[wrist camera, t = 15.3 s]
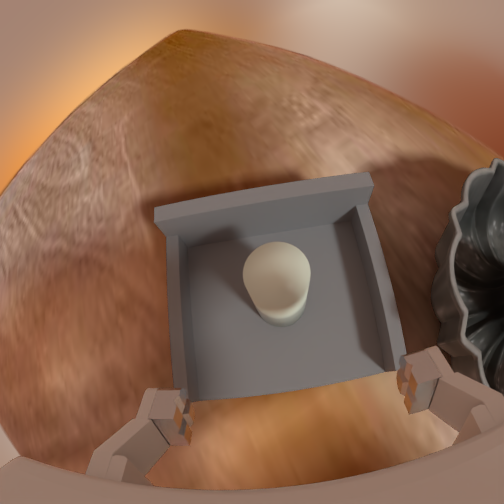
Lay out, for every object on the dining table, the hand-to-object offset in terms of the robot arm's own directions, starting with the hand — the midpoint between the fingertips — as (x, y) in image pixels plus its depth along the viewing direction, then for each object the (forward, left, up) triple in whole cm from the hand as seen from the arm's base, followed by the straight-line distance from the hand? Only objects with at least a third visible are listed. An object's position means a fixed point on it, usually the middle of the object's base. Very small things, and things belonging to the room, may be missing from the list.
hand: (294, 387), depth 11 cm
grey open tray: (+7, 0, -18) cm, 19 cm away
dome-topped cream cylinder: (+7, 0, -16) cm, 18 cm away
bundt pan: (+2, -25, -18) cm, 31 cm away
